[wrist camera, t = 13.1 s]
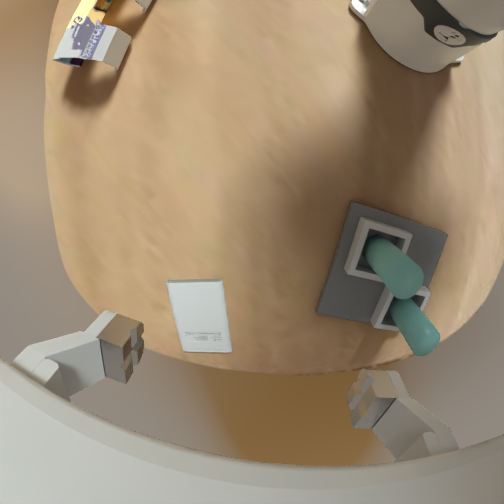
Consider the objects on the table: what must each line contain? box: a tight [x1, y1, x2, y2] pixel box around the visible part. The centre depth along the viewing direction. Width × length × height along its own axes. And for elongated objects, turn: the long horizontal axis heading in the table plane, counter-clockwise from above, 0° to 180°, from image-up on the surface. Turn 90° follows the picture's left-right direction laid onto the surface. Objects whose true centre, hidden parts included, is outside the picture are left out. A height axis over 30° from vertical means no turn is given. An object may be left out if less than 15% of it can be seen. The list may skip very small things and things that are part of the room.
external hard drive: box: [166, 279, 232, 353], centre depth 40 cm, size 2×8×12 cm
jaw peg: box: [362, 235, 424, 299], centre depth 29 cm, size 4×4×10 cm
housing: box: [316, 201, 448, 356], centre depth 31 cm, size 16×16×11 cm
